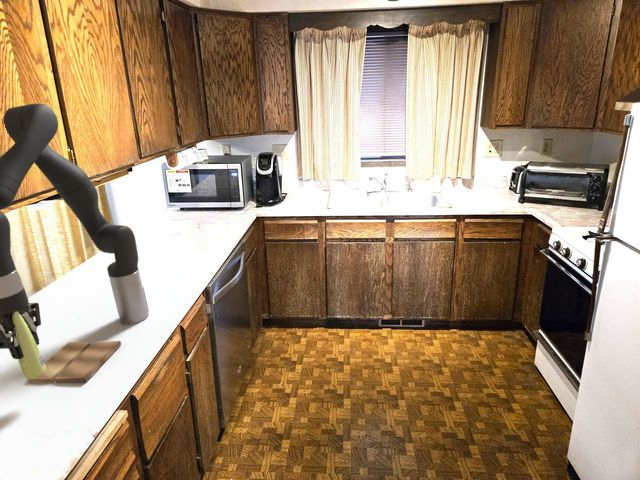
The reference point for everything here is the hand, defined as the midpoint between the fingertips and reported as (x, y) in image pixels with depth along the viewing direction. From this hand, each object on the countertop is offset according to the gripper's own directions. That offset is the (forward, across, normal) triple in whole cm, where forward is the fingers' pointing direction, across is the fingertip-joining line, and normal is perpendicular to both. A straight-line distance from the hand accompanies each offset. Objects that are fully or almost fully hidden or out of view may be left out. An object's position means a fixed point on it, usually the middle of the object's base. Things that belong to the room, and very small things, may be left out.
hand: (27, 351), depth 110 cm
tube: (+7, 0, 0) cm, 7 cm away
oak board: (+14, -14, -5) cm, 21 cm away
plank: (+14, -14, +4) cm, 20 cm away
